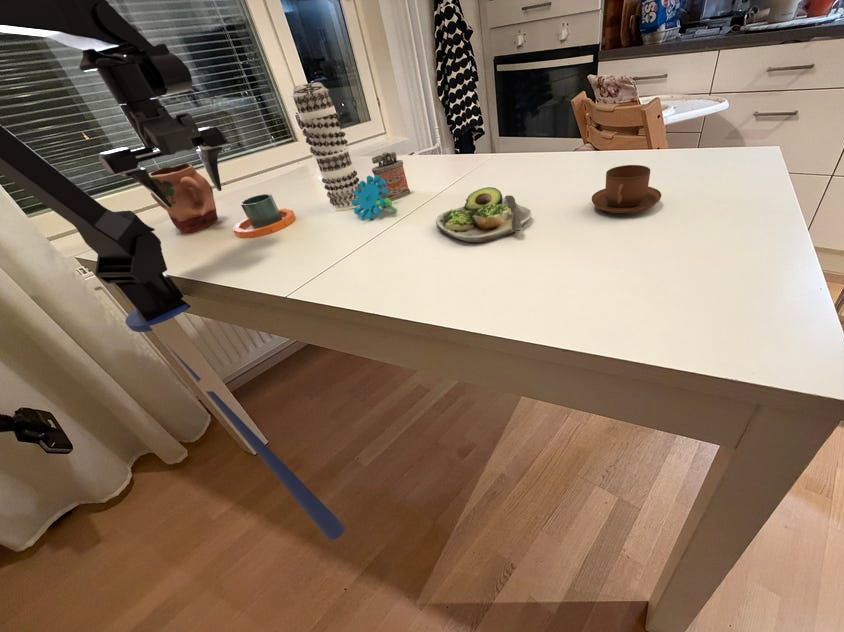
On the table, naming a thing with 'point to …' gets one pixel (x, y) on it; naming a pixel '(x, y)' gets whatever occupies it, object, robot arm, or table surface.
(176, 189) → the decorative planter
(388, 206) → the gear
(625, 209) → the cup and saucer
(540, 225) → the table surface
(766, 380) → the table surface
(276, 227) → the ring
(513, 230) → the avocado toast plate
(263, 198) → the cup
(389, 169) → the lighter
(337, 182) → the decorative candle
